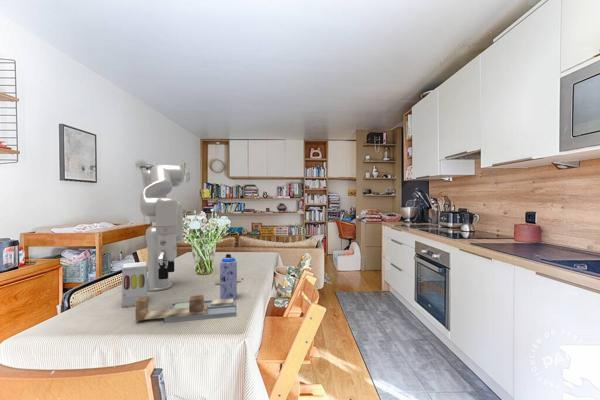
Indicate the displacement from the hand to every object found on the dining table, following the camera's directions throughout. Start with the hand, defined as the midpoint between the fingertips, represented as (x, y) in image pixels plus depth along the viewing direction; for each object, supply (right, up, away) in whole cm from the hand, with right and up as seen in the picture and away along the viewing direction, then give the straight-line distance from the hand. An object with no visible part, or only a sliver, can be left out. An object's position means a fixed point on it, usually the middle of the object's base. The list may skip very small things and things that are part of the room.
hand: (166, 275), depth 111 cm
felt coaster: (+2, -16, +9) cm, 19 cm away
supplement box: (-22, -17, +17) cm, 32 cm away
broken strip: (+14, -16, +12) cm, 25 cm away
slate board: (+11, -17, +7) cm, 21 cm away
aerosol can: (+18, -17, +23) cm, 34 cm away
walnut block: (+10, -14, +3) cm, 18 cm away
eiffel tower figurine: (+12, -17, +48) cm, 53 cm away
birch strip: (+2, -15, +1) cm, 16 cm away
